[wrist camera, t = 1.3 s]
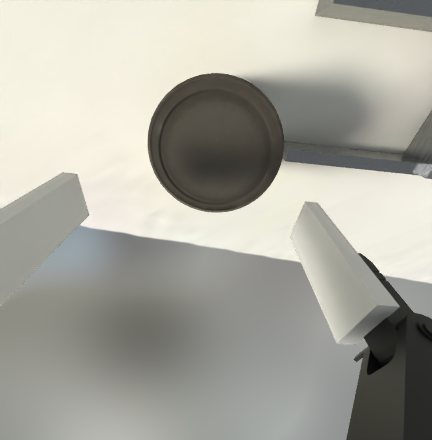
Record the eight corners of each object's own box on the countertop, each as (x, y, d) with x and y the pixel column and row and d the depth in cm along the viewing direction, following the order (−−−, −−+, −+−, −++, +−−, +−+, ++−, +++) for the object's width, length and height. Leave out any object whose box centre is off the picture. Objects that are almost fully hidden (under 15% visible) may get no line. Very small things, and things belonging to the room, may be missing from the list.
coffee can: (166, 91, 25) (120, 101, 13) (249, 64, 23) (278, 47, 11) (193, 169, 30) (177, 223, 19) (261, 151, 29) (288, 199, 17)
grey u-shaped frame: (320, -6, 20) (347, -29, 16) (503, 20, 21) (574, 5, 16) (277, 151, 29) (287, 163, 25) (406, 165, 29) (437, 179, 25)
